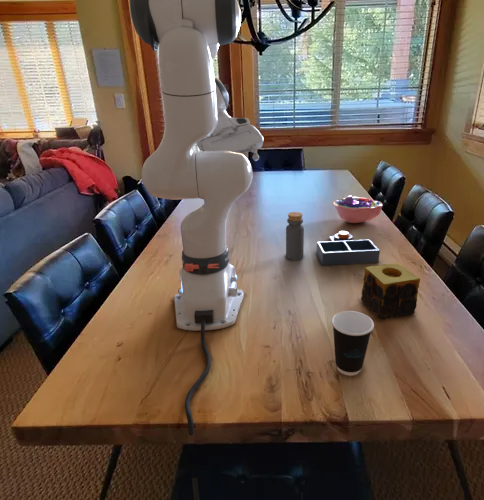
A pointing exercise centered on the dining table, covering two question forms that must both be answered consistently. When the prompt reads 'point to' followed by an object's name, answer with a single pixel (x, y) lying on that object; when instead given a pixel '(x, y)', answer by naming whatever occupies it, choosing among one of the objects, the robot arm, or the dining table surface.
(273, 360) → the dining table surface
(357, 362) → the dixie cup
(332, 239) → the control block
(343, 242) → the tray
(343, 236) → the button
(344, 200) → the cell model
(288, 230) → the bottle
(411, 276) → the candle
